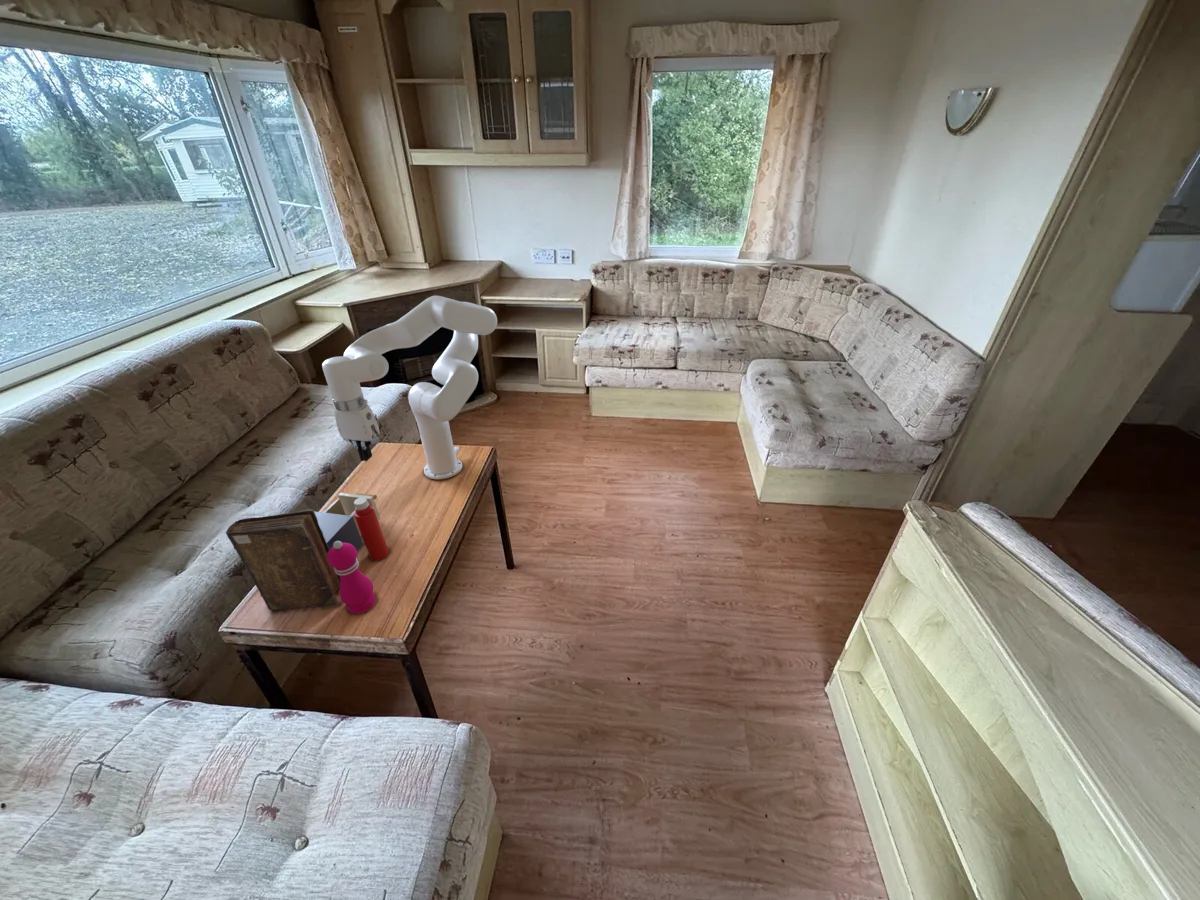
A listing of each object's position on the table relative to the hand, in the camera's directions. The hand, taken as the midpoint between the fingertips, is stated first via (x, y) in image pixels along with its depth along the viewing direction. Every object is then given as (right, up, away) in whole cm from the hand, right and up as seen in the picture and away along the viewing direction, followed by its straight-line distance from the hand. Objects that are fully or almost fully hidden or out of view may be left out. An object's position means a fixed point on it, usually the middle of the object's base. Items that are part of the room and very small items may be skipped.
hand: (366, 458), depth 141 cm
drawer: (-2, -20, -3) cm, 20 cm away
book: (-3, -34, -24) cm, 42 cm away
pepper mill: (+11, -35, -25) cm, 44 cm away
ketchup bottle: (+9, -26, -11) cm, 29 cm away
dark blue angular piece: (-4, -27, -13) cm, 30 cm away
